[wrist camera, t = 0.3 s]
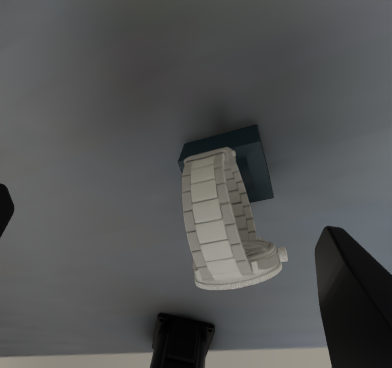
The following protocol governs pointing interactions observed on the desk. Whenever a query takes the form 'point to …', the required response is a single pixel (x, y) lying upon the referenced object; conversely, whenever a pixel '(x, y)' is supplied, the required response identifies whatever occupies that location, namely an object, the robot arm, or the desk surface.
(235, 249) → the watch
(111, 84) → the desk surface
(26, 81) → the desk surface
